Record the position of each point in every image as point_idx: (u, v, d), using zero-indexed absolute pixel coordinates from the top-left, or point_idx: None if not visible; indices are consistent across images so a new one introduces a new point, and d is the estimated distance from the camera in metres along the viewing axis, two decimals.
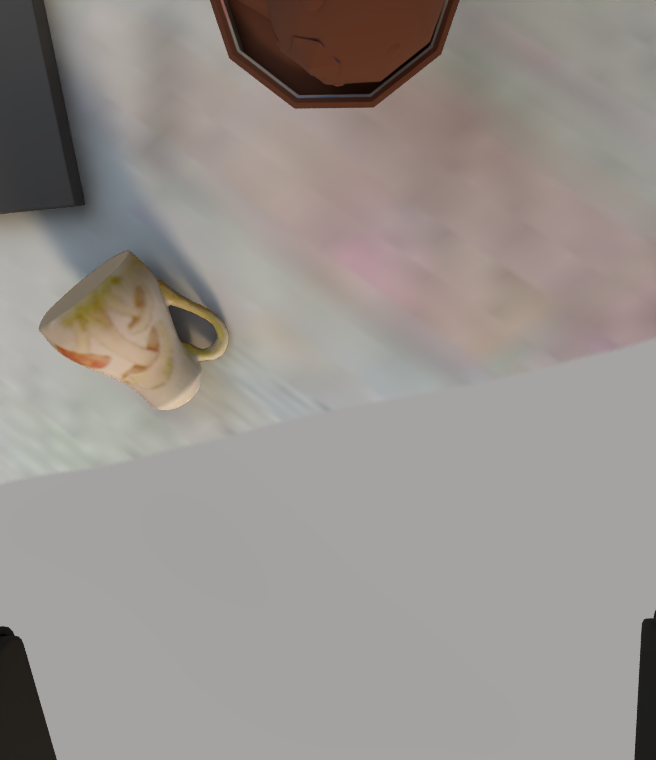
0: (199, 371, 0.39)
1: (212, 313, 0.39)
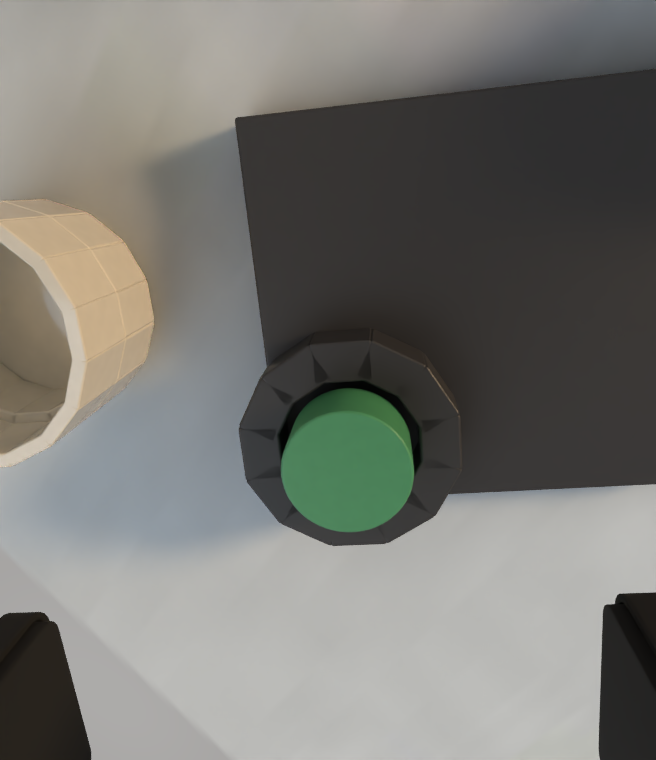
0: None
1: None
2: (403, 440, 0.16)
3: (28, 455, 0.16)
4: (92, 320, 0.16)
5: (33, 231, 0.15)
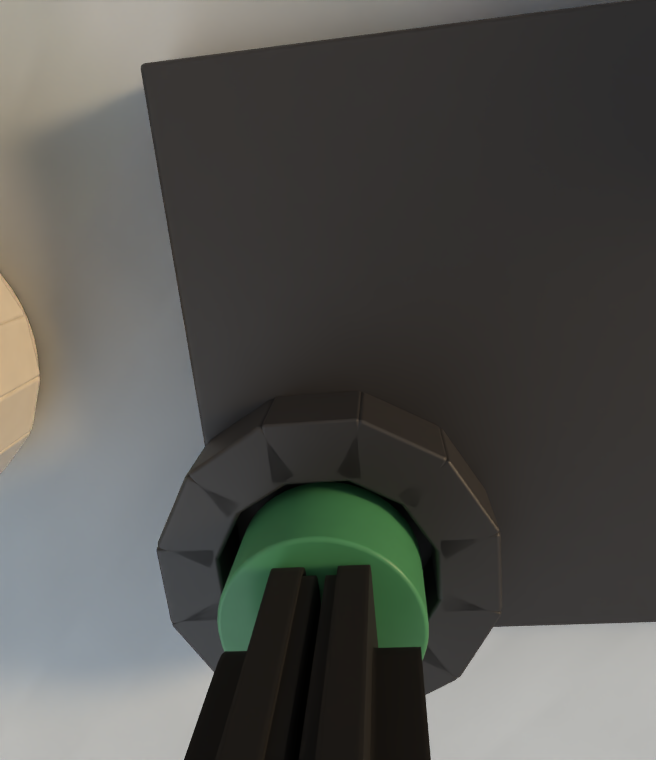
0: None
1: None
2: (412, 582, 0.10)
3: None
4: None
5: None
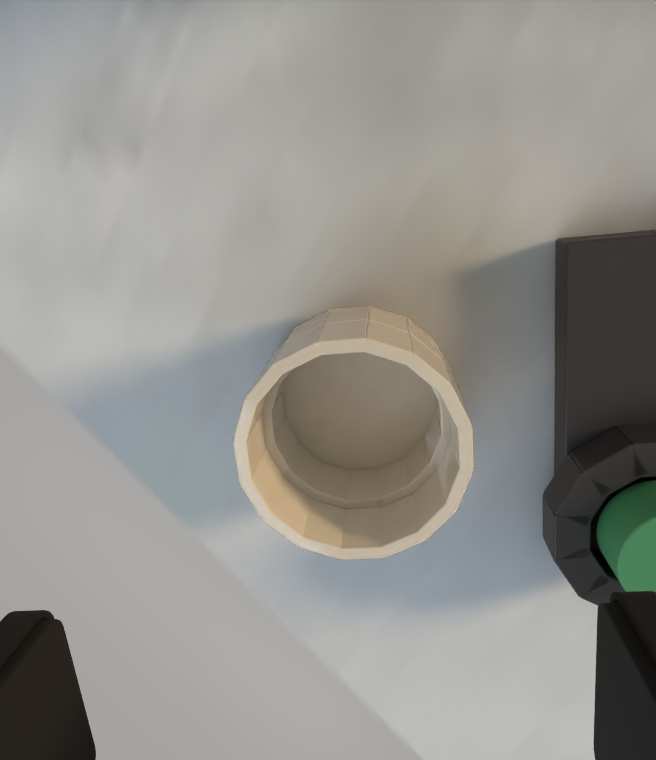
0: None
1: None
2: None
3: (403, 548, 0.18)
4: None
5: (425, 356, 0.18)
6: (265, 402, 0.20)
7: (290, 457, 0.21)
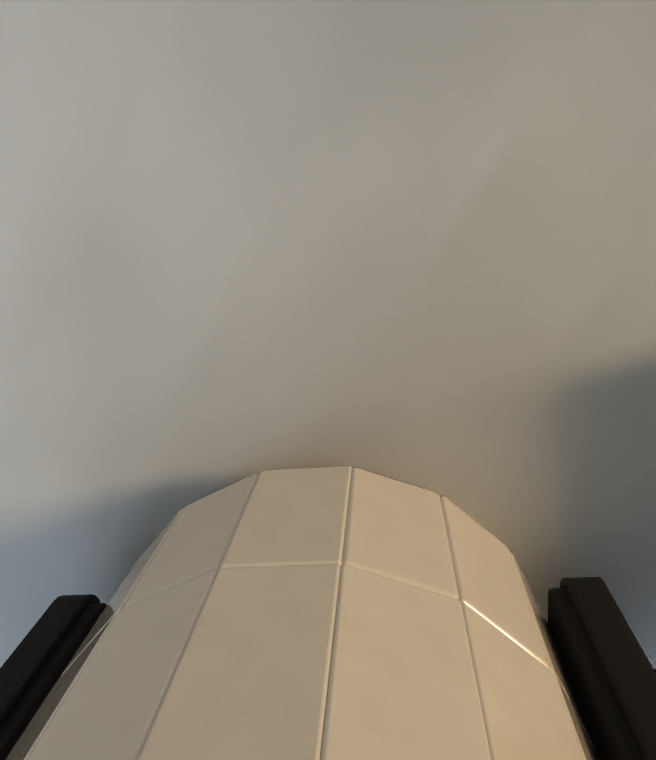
0: None
1: None
2: None
3: None
4: None
5: (529, 751, 0.05)
6: None
7: None
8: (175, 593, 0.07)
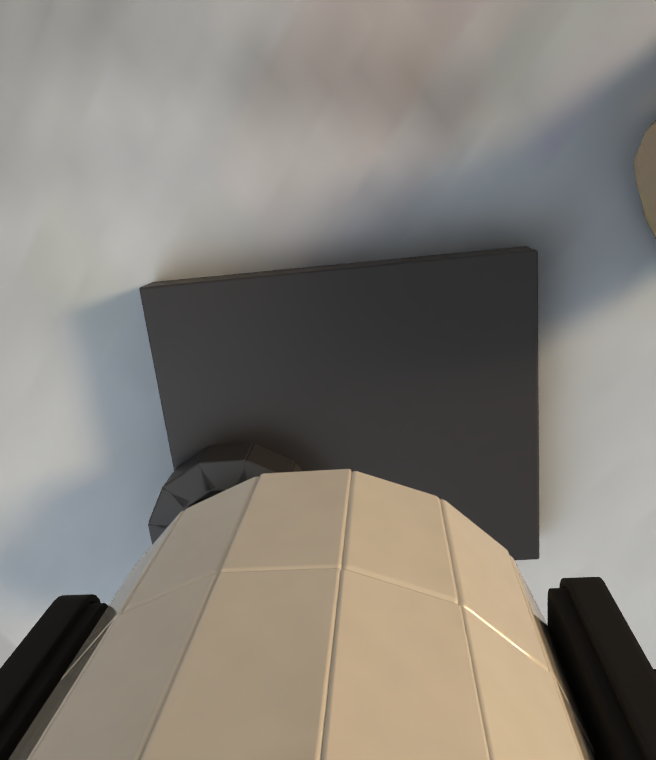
0: None
1: None
2: None
3: None
4: None
5: (529, 756, 0.05)
6: None
7: None
8: (175, 597, 0.07)
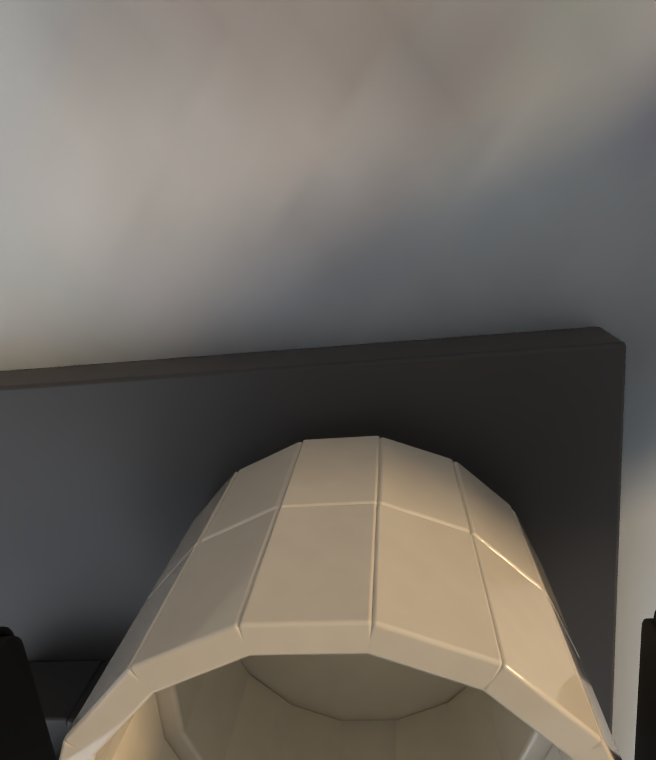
0: None
1: None
2: None
3: None
4: None
5: (523, 632, 0.07)
6: None
7: (221, 738, 0.11)
8: (245, 526, 0.08)
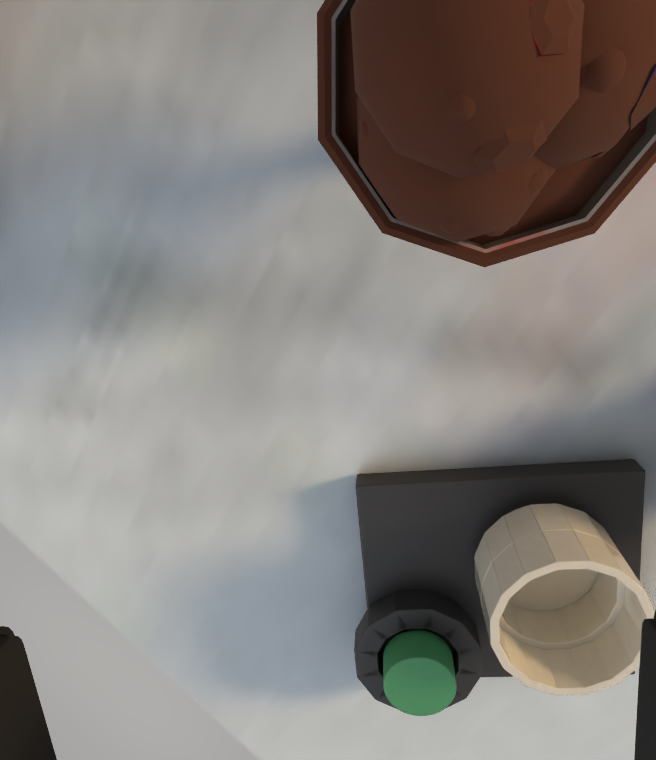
0: None
1: None
2: (451, 671, 0.30)
3: (601, 689, 0.27)
4: None
5: (622, 565, 0.26)
6: None
7: None
8: (532, 537, 0.28)
